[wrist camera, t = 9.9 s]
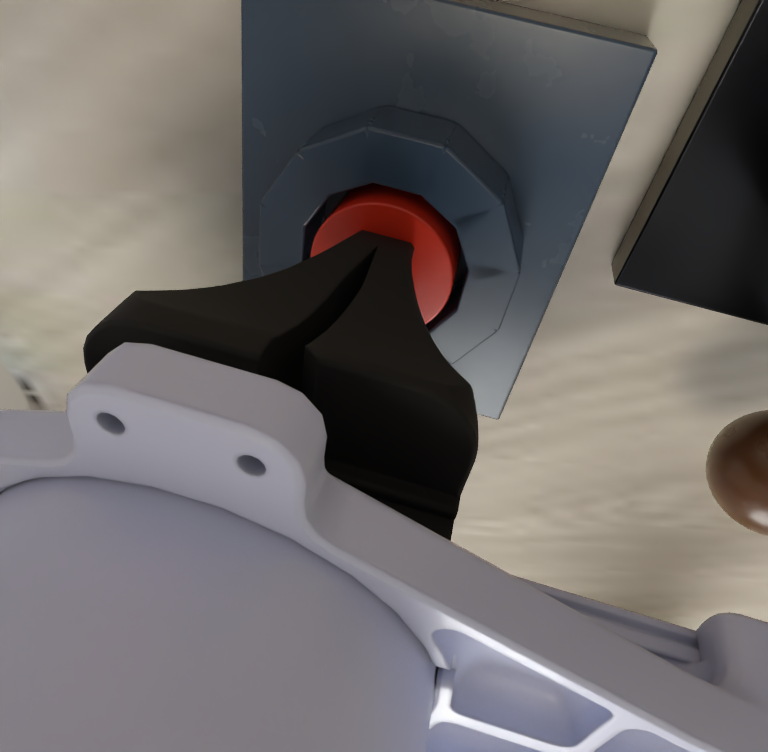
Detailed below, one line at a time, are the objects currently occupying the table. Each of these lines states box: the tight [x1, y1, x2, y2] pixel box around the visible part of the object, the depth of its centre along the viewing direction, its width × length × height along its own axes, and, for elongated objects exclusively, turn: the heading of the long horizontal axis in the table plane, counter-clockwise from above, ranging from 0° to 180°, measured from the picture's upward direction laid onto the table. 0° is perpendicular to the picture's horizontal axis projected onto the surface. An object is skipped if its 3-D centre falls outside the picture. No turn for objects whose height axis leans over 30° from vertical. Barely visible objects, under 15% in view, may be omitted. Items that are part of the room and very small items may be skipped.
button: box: [310, 183, 462, 324], centre depth 14 cm, size 4×4×2 cm
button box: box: [241, 0, 657, 419], centre depth 15 cm, size 11×9×4 cm
